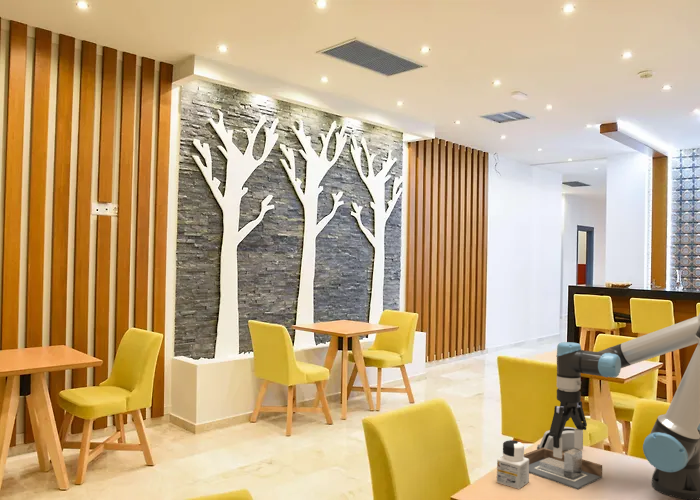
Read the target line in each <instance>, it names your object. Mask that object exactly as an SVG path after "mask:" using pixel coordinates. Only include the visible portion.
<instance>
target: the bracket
mask: <svg viewBox="0 0 700 500" xmlns="http://www.w3.org/2000/svg"><path fill="white" fill-rule="evenodd" d="M563 452H564V453H563V454H564V462H562V461H559V460H556V459H553V458H546V459H544V460H541V461H540V465H539V468H540V469H543V470H546V471H549V472H552V473H555V474H558V475H561V476H564V477H567V478H570V479H574V478H577V477H579V476H581V475H582V459H583V450H581V449H571V450H568V451H563Z"/></svg>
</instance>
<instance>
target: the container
mask: <svg viewBox="0 0 700 500" xmlns="http://www.w3.org/2000/svg"><path fill="white" fill-rule="evenodd" d="M524 454H525V445H524V443H522V442H520V441H517V440H514V439H513V440H511V439H509V440H506V441H504V442H502V456H500V457H499V458H497V459H496V461H497V462H496V482H497V484H500V485H504V486H507V487H511V488H514V489H518V490H521V488H523V487H524V486H525V485H527V484H528V483H529V481H530V473H529V459H528V458H524Z"/></svg>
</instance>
